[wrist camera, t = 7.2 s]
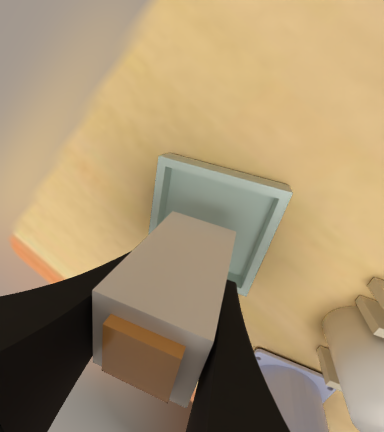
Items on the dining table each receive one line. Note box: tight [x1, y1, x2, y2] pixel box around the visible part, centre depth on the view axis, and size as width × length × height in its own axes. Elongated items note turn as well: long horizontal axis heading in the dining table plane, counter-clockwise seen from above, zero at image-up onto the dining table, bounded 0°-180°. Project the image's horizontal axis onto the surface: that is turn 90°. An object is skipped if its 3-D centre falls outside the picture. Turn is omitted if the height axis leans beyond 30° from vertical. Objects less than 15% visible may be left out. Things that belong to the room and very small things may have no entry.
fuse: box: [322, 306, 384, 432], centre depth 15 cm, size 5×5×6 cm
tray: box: [148, 153, 293, 296], centre depth 17 cm, size 9×9×2 cm
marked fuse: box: [92, 211, 236, 408], centre depth 10 cm, size 4×4×7 cm
